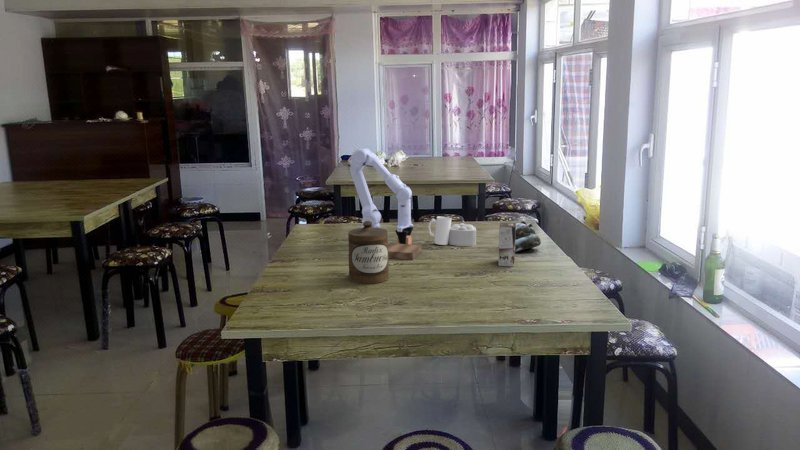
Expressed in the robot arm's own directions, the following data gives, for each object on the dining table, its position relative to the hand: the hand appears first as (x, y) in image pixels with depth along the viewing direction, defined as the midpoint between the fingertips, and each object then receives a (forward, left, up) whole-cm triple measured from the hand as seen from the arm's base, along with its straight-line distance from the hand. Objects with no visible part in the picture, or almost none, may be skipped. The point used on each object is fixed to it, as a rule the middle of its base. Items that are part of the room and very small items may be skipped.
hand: (404, 244), depth 288 cm
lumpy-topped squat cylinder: (+23, +14, -2) cm, 27 cm away
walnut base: (+3, -13, -1) cm, 13 cm away
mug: (+13, +9, -1) cm, 16 cm away
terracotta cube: (0, 0, -1) cm, 1 cm away
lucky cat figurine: (+50, +10, -2) cm, 51 cm away
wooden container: (+2, -50, -2) cm, 50 cm away
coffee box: (+48, -14, -2) cm, 50 cm away
